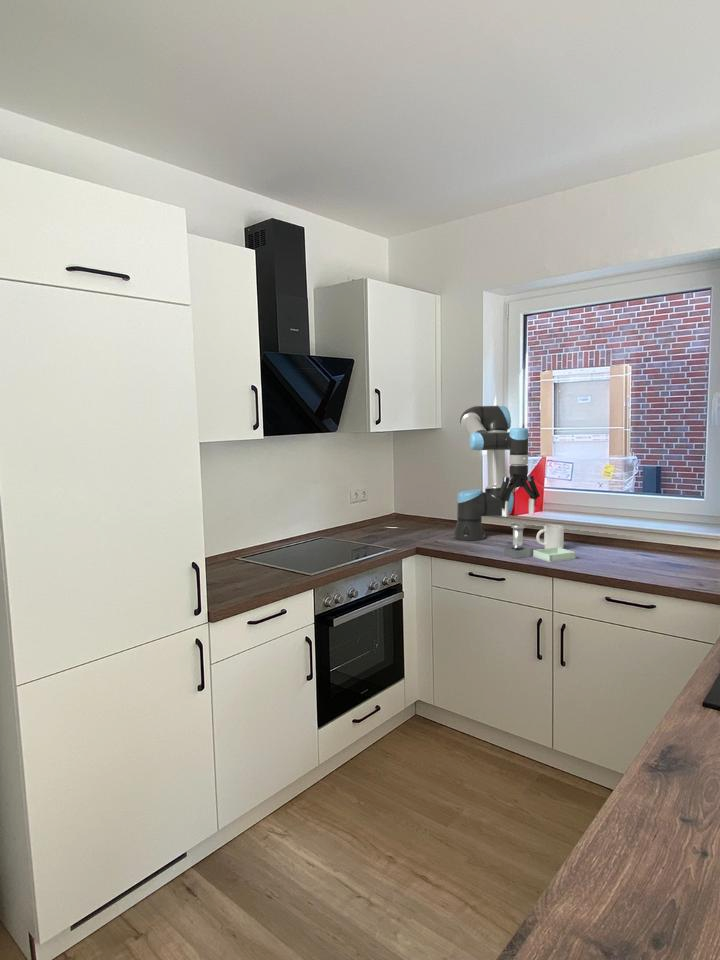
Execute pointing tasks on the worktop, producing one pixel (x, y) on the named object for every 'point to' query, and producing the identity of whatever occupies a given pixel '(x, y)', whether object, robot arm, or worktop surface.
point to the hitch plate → (517, 552)
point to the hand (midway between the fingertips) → (518, 515)
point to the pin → (517, 536)
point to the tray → (554, 554)
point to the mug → (552, 536)
